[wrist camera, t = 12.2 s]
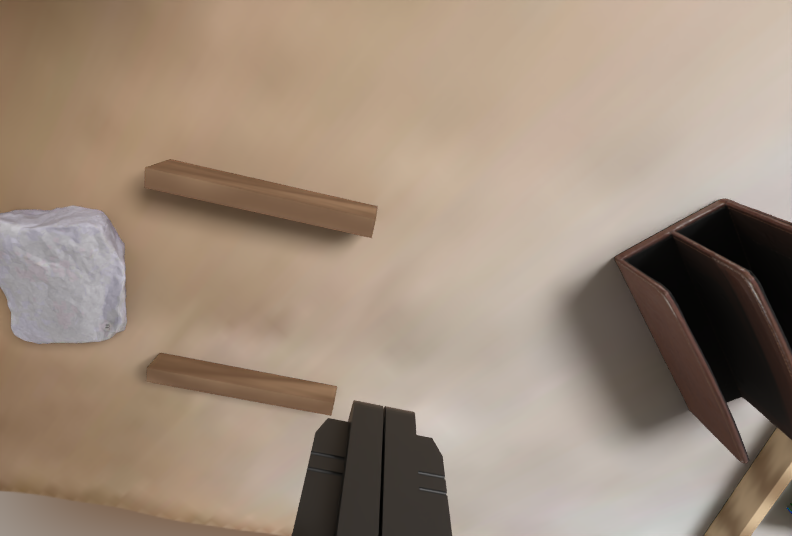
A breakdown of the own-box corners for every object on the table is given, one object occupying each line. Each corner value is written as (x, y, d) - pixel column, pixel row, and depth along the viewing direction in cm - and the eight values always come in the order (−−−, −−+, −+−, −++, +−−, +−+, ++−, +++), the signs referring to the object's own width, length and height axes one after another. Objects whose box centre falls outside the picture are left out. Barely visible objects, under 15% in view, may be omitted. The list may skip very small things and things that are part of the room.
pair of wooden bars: (170, 159, 37) (144, 167, 33) (377, 206, 38) (375, 219, 35) (159, 365, 44) (137, 391, 40) (334, 398, 45) (329, 426, 42)
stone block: (124, 198, 40) (-6, 206, 38) (104, 214, 36) (-45, 224, 34) (155, 317, 45) (41, 329, 43) (141, 343, 40) (13, 358, 39)
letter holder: (722, 194, 38) (893, 252, 25) (787, 364, 44) (951, 481, 31) (610, 255, 40) (715, 338, 27) (687, 410, 46) (803, 538, 33)
